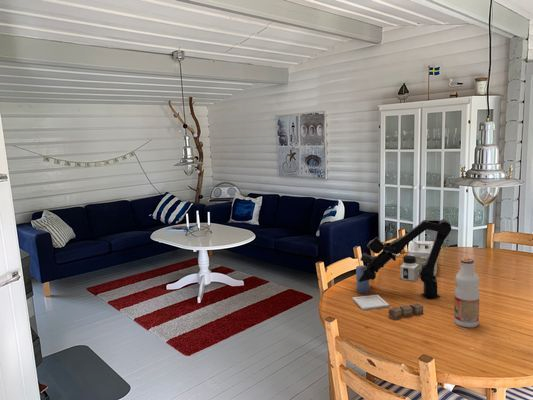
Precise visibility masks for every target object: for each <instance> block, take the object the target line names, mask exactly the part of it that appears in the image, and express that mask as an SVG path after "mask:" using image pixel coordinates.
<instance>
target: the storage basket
mask: <svg viewBox="0 0 533 400" xmlns="http://www.w3.org/2000/svg"><path fill="white" fill-rule="evenodd" d="M433 243H434V241H431V240H430V241H428V240H412V241H410V242H409V243H408V244H407V245H408V247H407V255H413V256H415V257H416V264H418V265H419V270H420V269H421V265H422V264H424V265H425V263H426V262H427V260H428V257H429V254H430V251H431V249H432V246H433ZM419 246H424V247H426V246H427V247H428V248H420V247H419ZM437 261H438V259H437V260H436V263H435V266H434V274H433V275H434V276H435V277H436V276H437V273H438V272H437V271H438V265H437Z"/></svg>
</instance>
